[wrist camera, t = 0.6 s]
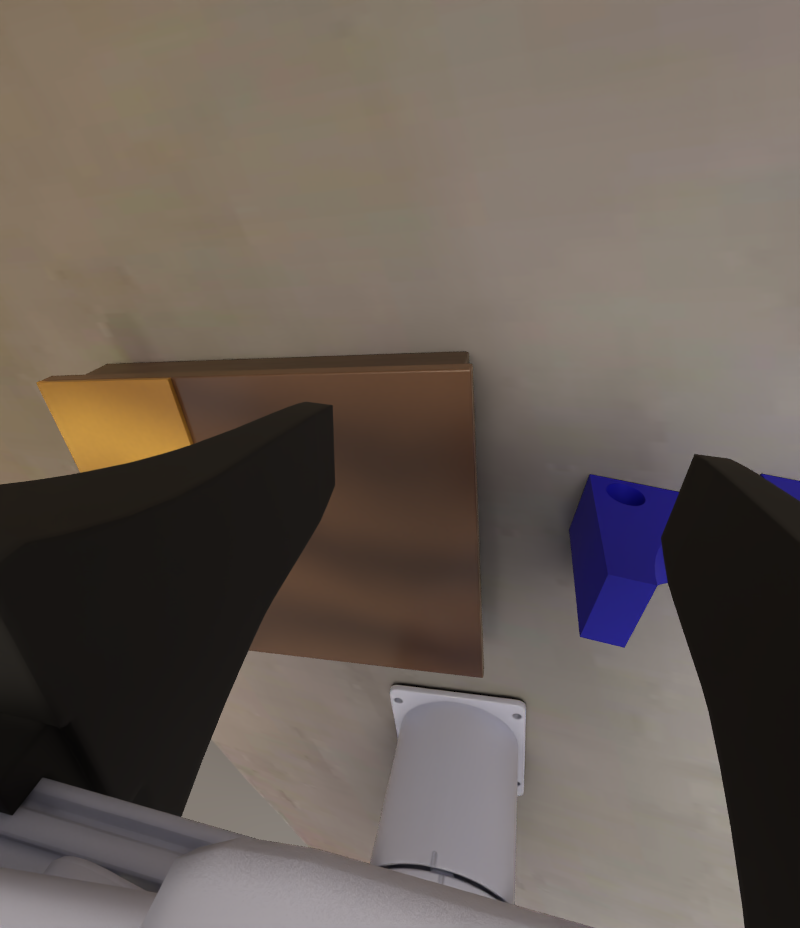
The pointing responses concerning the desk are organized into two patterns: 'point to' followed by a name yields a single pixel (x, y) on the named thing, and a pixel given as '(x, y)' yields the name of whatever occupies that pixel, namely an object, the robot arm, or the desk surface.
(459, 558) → the walnut stand
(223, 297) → the desk surface
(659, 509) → the cable clip
